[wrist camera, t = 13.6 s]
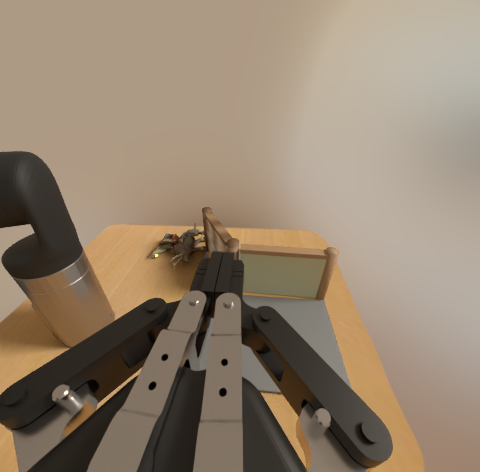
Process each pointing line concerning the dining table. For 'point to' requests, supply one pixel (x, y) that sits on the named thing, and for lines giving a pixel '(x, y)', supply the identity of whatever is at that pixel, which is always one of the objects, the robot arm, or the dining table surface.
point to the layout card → (302, 321)
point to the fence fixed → (218, 235)
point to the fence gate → (287, 270)
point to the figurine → (180, 245)
